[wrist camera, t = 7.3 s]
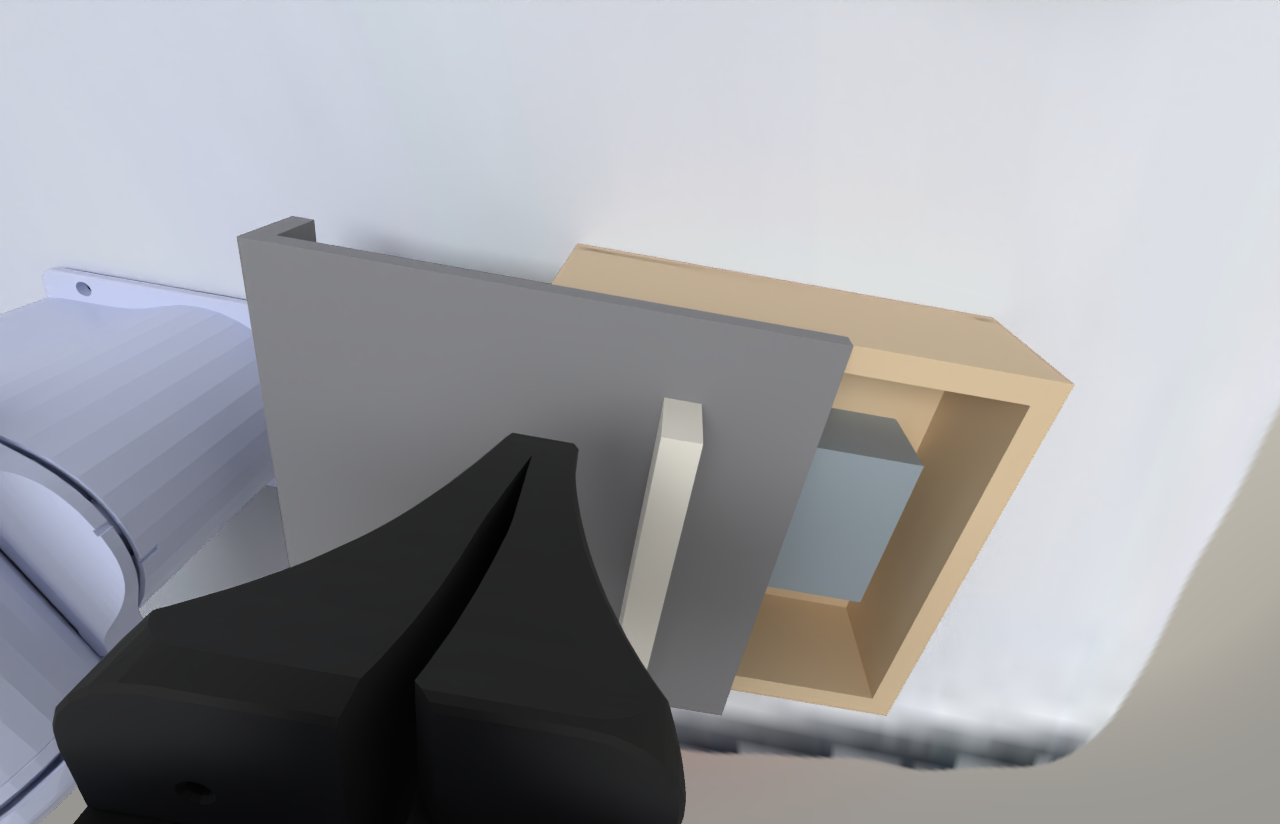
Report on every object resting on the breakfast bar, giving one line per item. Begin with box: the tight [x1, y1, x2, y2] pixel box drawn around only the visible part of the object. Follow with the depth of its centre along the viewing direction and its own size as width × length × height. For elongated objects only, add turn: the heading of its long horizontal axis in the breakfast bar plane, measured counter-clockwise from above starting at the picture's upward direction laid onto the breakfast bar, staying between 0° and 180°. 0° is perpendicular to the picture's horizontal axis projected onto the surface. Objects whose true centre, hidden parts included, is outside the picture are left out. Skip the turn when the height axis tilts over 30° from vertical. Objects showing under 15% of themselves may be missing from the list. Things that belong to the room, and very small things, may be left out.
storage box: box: [552, 243, 1074, 716], centre depth 22 cm, size 14×14×5 cm
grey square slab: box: [237, 216, 853, 715], centre depth 19 cm, size 15×15×4 cm
